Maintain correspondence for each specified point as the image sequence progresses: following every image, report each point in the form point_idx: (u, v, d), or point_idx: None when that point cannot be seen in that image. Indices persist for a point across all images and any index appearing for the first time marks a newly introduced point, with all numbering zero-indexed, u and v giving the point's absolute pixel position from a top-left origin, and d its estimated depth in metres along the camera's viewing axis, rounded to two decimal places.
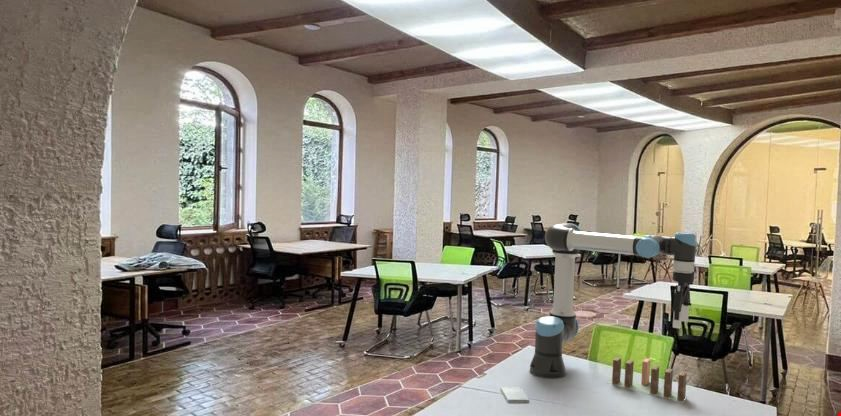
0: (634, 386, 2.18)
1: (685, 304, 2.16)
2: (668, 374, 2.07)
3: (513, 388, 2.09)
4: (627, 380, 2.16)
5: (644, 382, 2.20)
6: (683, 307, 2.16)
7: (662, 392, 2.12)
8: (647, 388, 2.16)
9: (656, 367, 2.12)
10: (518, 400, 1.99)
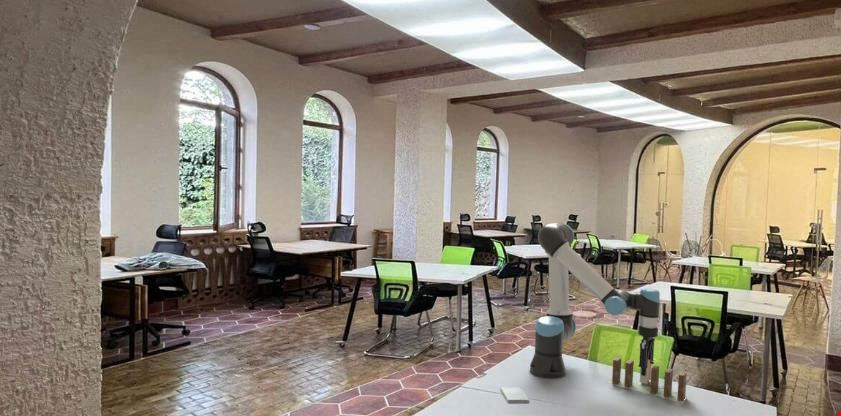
0: (634, 386, 2.18)
1: None
2: (668, 374, 2.07)
3: (513, 388, 2.09)
4: (627, 380, 2.16)
5: None
6: None
7: (662, 392, 2.12)
8: (647, 388, 2.16)
9: (656, 367, 2.12)
10: (518, 400, 1.98)
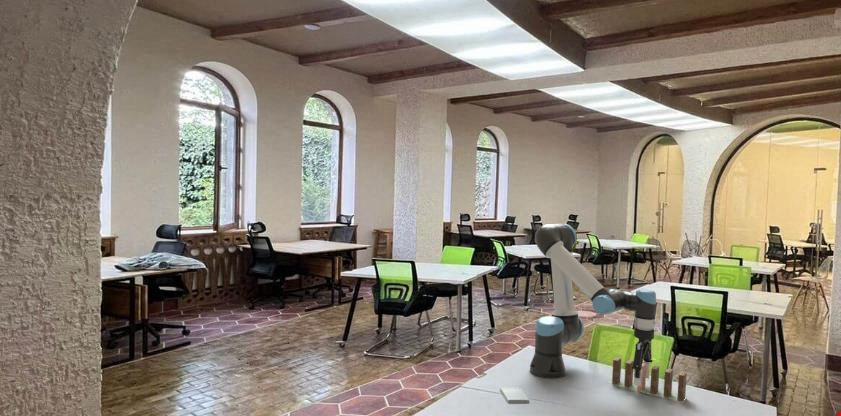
0: (634, 386, 2.18)
1: (646, 360, 2.20)
2: (668, 374, 2.07)
3: (513, 388, 2.09)
4: (627, 380, 2.16)
5: (640, 387, 2.13)
6: None
7: (662, 392, 2.12)
8: (647, 388, 2.16)
9: (656, 367, 2.12)
10: (518, 400, 1.98)
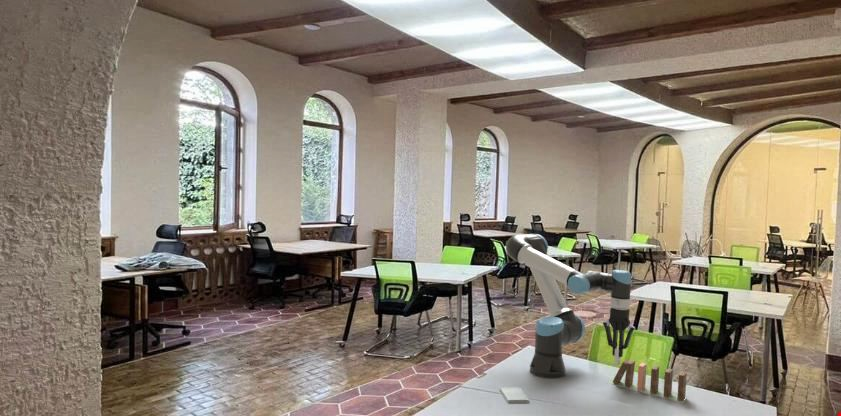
0: (634, 386, 2.18)
1: None
2: (668, 374, 2.07)
3: (512, 388, 2.09)
4: (627, 380, 2.16)
5: (640, 387, 2.13)
6: None
7: (662, 392, 2.12)
8: (647, 388, 2.16)
9: (656, 367, 2.12)
10: (518, 400, 1.98)
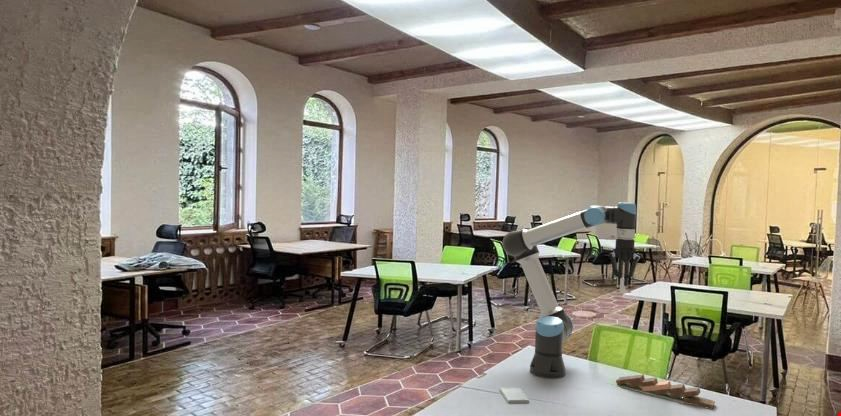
0: None
1: None
2: (695, 394, 2.01)
3: (512, 388, 2.09)
4: (636, 385, 2.14)
5: (645, 389, 2.12)
6: None
7: None
8: None
9: (683, 388, 2.06)
10: (518, 400, 1.98)
